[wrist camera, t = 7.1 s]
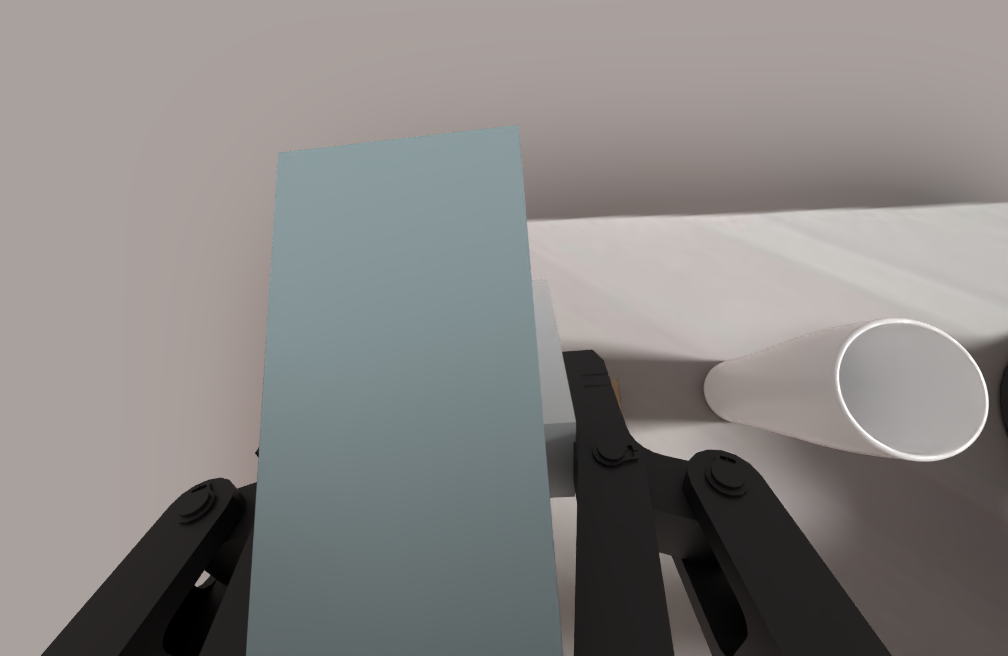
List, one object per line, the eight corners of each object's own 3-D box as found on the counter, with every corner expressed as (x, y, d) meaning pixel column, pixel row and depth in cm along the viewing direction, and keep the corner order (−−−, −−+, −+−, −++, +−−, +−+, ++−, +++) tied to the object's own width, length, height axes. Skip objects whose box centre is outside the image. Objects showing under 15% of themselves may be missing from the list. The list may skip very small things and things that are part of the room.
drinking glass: (783, 370, 31) (1006, 347, 17) (761, 444, 30) (977, 490, 16) (705, 341, 32) (851, 294, 17) (681, 412, 31) (815, 427, 16)
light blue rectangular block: (528, 324, 19) (518, 124, 5) (543, 510, 17) (591, 992, 3) (462, 329, 19) (277, 152, 5) (470, 513, 17) (226, 974, 3)
